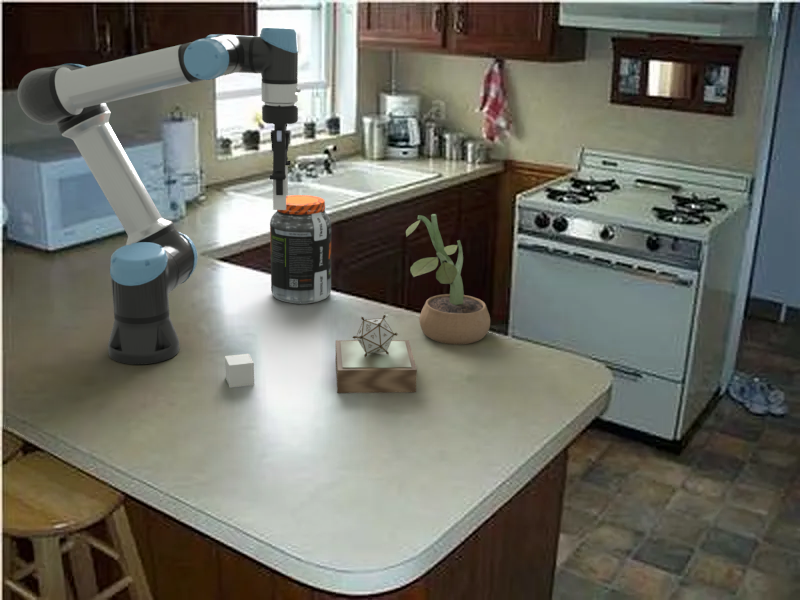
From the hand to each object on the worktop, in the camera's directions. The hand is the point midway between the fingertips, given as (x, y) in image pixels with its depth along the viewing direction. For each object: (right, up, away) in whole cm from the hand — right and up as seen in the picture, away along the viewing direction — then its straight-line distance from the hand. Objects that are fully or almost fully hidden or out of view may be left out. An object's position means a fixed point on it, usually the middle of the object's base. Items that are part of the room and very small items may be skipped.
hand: (280, 202), depth 197 cm
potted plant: (+36, -30, +18) cm, 50 cm away
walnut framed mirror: (+21, -38, -6) cm, 43 cm away
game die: (+21, -33, -7) cm, 39 cm away
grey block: (-7, -38, -11) cm, 40 cm away
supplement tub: (0, -20, +41) cm, 46 cm away
